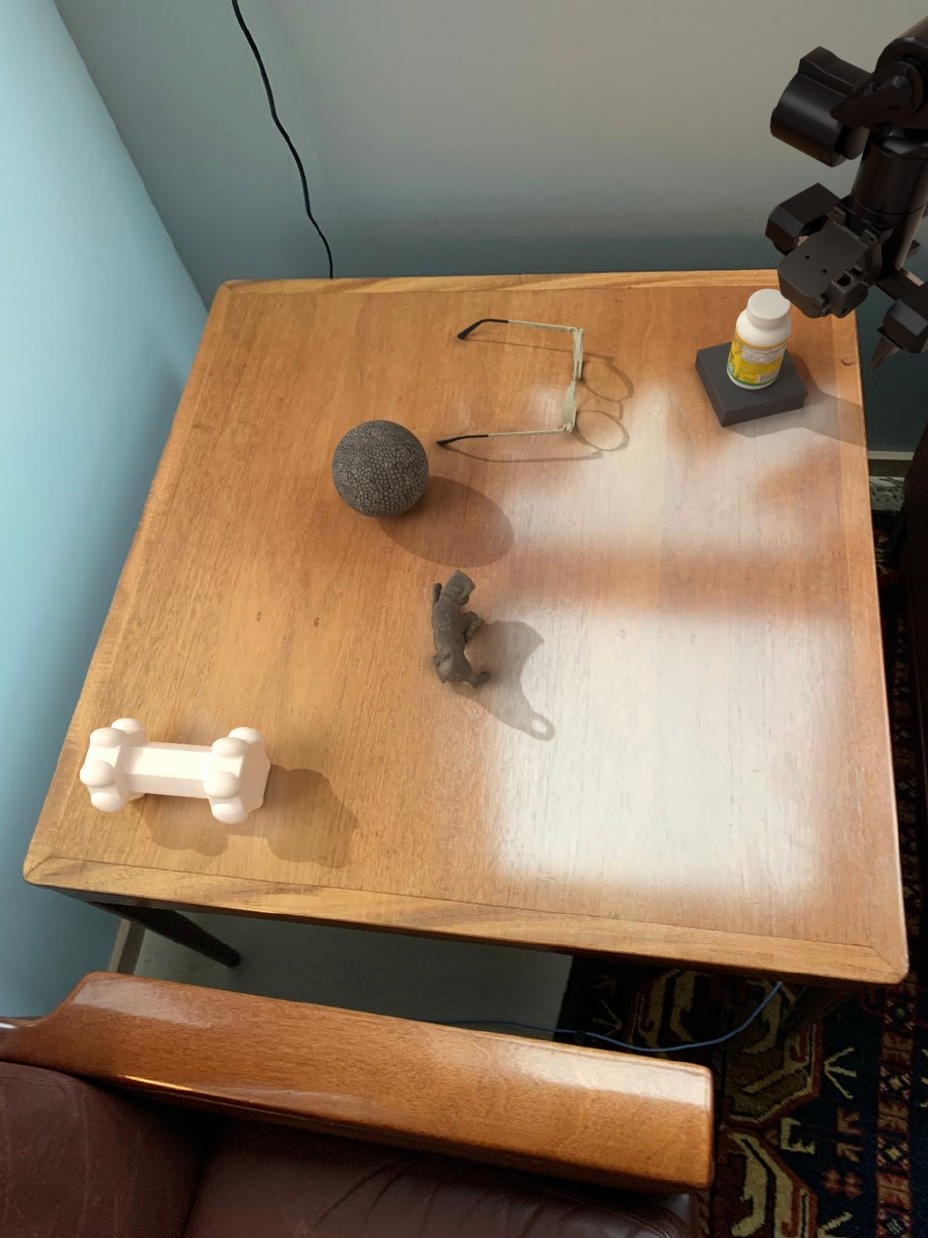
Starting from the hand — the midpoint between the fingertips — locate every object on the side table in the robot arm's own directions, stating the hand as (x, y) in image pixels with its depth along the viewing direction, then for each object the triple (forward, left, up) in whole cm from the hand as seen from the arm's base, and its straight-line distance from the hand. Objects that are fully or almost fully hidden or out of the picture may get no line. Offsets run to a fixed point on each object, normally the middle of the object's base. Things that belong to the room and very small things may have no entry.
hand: (839, 337), depth 81 cm
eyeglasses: (+29, -14, -13) cm, 35 cm away
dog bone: (+69, +23, -13) cm, 74 cm away
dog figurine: (+41, +15, -13) cm, 46 cm away
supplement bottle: (+4, -6, -10) cm, 13 cm away
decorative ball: (+45, -4, -13) cm, 47 cm away
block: (+4, -7, -13) cm, 15 cm away
